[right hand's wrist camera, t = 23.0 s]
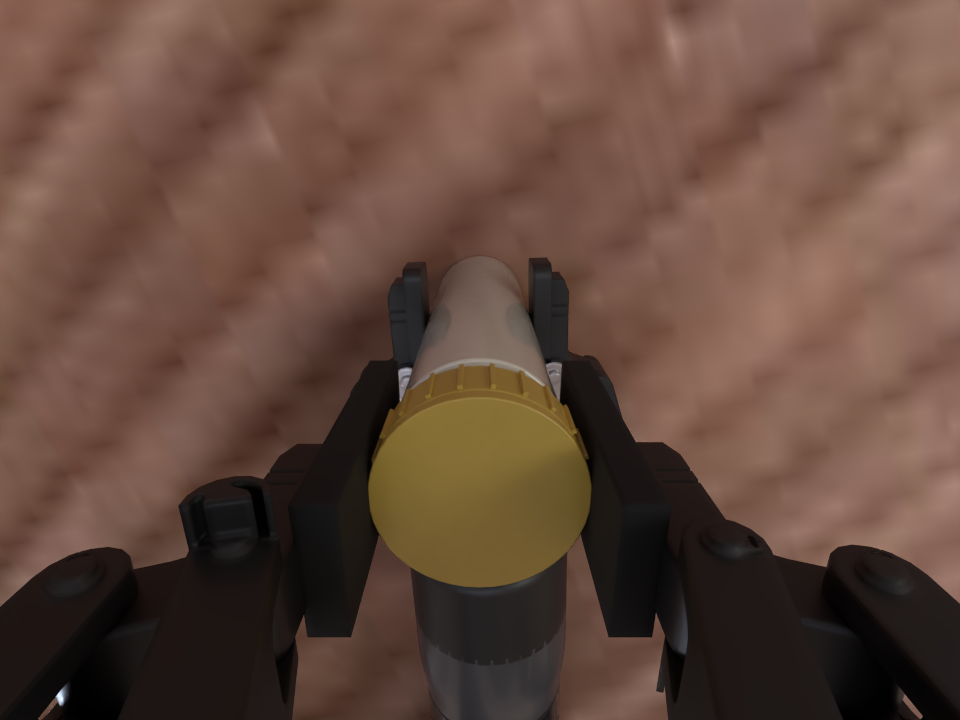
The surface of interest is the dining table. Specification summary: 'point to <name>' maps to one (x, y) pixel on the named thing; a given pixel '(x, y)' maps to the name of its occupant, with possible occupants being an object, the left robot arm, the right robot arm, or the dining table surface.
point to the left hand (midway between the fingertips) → (476, 265)
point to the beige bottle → (479, 325)
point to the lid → (479, 478)
